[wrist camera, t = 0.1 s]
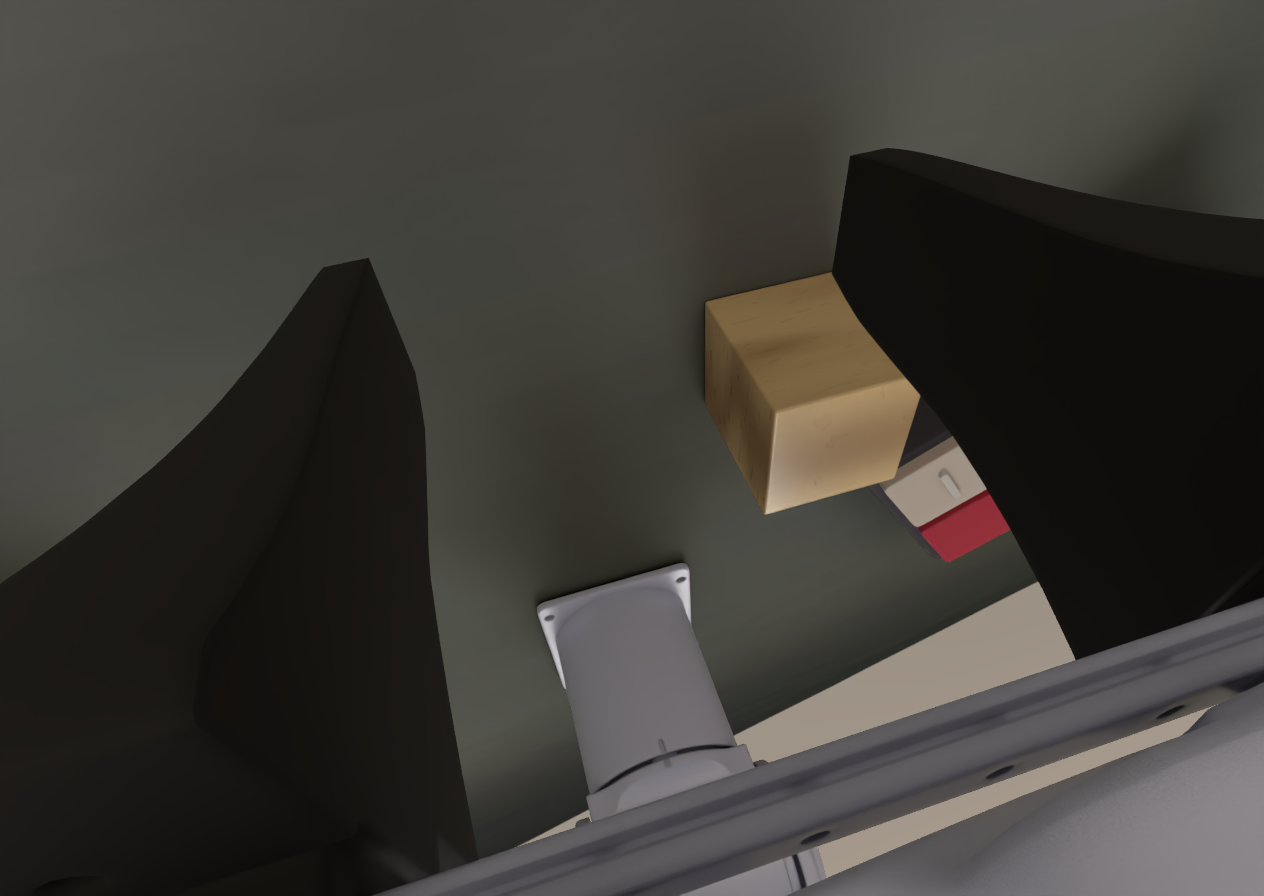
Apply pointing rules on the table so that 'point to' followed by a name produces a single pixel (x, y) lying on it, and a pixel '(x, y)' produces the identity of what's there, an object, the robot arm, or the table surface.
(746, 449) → the birch block
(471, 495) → the table surface
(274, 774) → the robot arm
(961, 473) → the calculator
